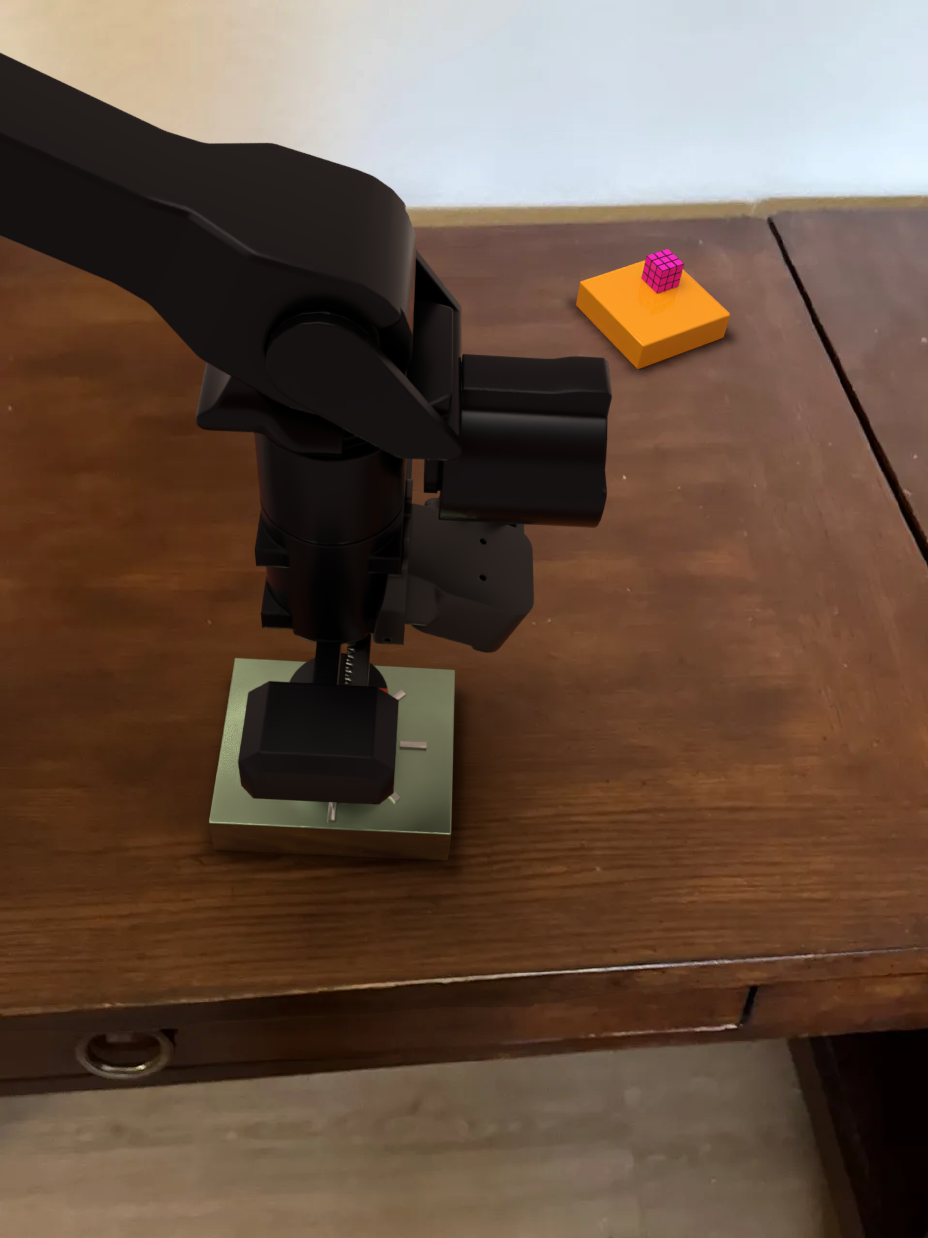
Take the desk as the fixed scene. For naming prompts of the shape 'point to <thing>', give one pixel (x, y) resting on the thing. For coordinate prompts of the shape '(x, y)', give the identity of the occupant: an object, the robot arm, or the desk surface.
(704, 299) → the orange square platform
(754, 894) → the desk surface
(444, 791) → the dial panel
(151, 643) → the desk surface
